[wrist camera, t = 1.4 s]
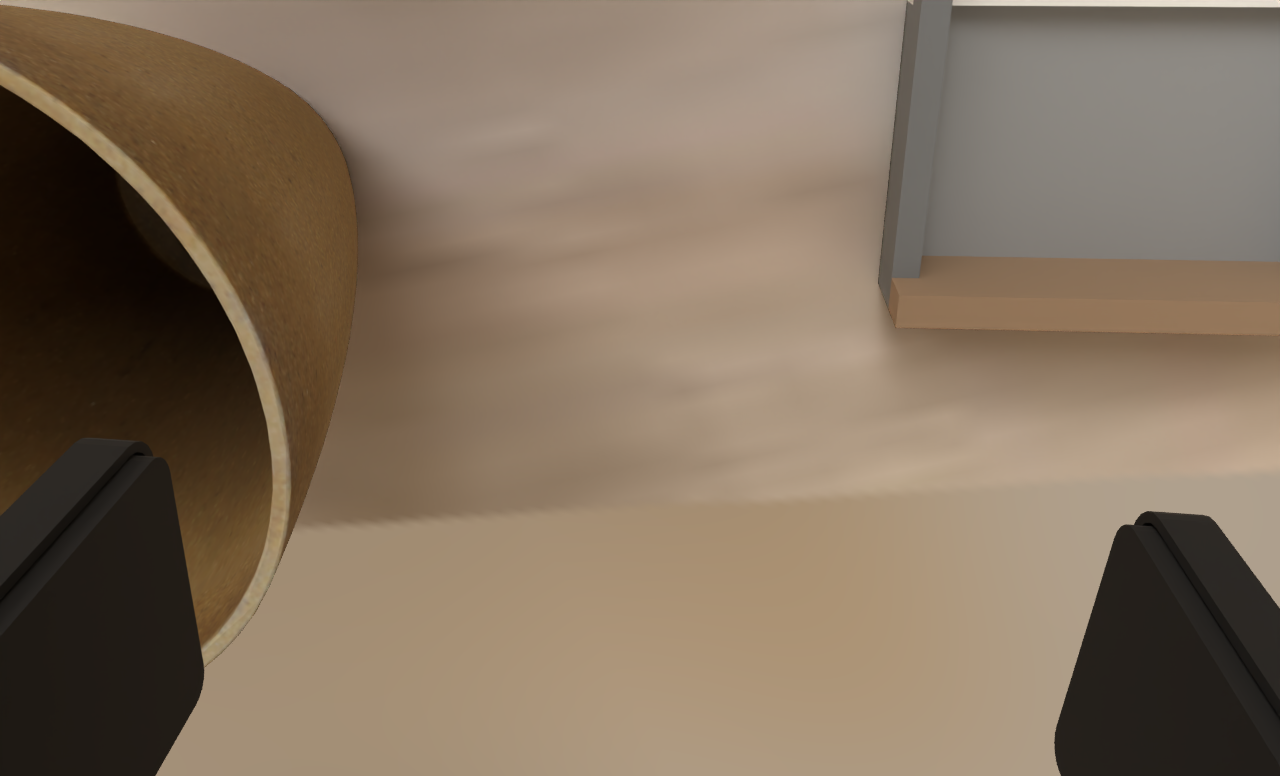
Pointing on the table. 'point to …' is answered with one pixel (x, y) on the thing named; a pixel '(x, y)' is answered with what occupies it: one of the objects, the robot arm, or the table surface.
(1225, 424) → the table surface
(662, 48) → the table surface
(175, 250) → the plant pot
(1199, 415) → the table surface
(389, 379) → the table surface
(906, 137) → the tray
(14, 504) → the robot arm
